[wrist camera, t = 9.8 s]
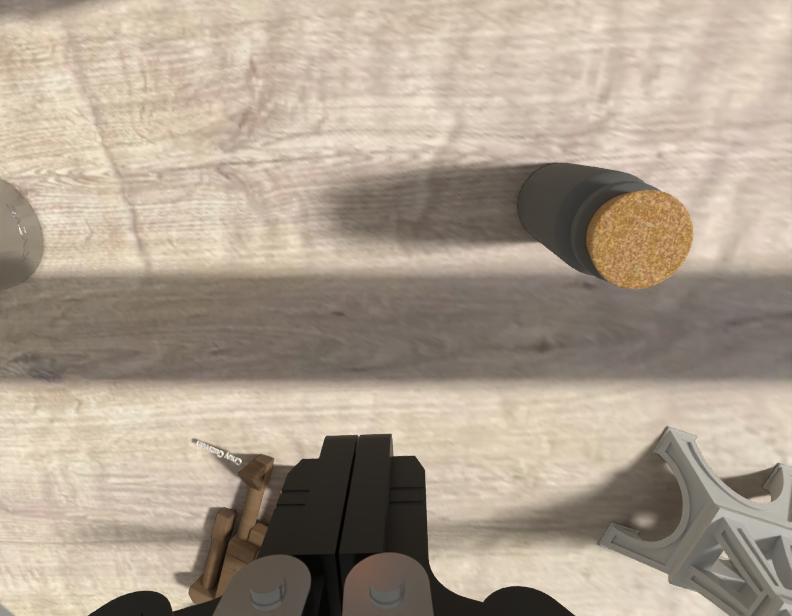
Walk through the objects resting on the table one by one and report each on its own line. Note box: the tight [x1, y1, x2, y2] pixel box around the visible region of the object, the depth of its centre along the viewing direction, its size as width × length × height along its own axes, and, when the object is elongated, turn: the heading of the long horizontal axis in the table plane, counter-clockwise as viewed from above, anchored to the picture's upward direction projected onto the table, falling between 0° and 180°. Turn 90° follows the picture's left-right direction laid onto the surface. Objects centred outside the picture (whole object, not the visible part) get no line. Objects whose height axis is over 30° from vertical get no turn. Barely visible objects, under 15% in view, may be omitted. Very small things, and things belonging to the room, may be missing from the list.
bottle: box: [518, 163, 693, 289], centre depth 31 cm, size 6×6×15 cm
